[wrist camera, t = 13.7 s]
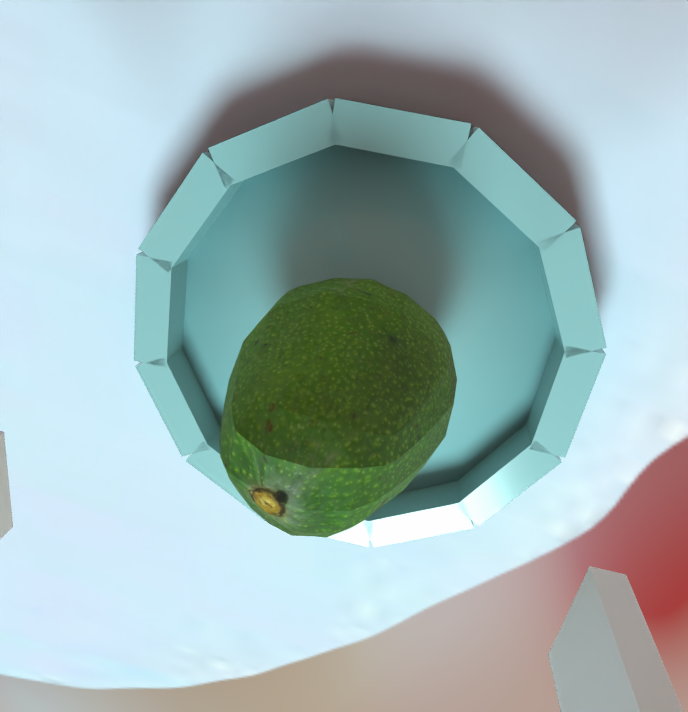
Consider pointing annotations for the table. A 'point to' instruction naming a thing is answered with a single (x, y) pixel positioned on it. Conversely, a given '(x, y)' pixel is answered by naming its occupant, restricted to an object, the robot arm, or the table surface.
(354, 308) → the avocado
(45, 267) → the table surface
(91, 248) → the table surface
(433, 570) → the table surface
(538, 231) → the dish
